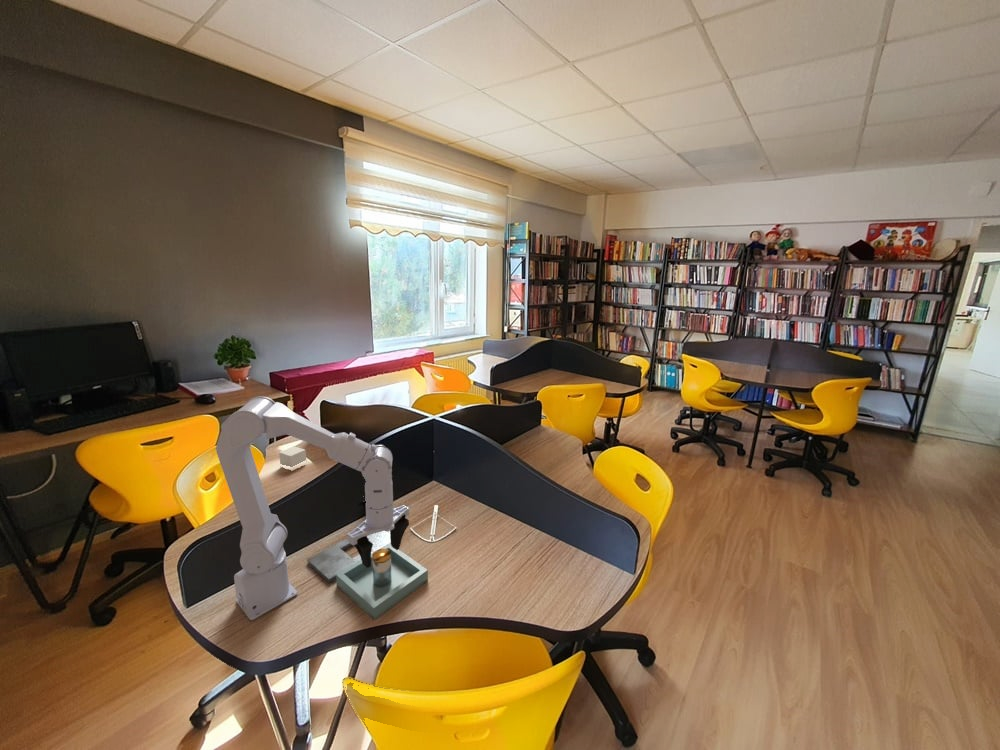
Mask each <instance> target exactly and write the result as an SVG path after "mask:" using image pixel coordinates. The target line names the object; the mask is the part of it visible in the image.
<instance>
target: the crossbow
mask: <svg viewBox="0 0 1000 750" xmlns="http://www.w3.org/2000/svg"><path fill="white" fill-rule="evenodd" d="M438 513H439V505H438V504H435V505H433V514H432V515H430V516H428V517H427V518H425V519H424V520H422V521H420V522H418V523H417V524H415V525H413V526H412V527H410V528H409V531H410V532H412V533H413V534H414V535H415V536H416V537H418V538H419V539H420V540H423V541H424V542H427V543H436V542H439V541H441V540H443V539H445V538H446V537H448V536H450V535H451V534H452V533H454V532H455V531H457V527H456V526H455V525H453V524H451V523H450V522H449V521H447V520H446V519H444V518H443V517H441V516H440V515H439V514H438ZM430 517H432V520H431V521H432V523H431V528H430V535H429V539H427V538H424V537H422V536H421V535H419V534H418V533H417V532H416V531H415V530H414V529H413V528H414V527H416V526H417V525H419V524H421V523H422V522H424V521H426V520H427V519H429V518H430ZM438 517H439V518H441V519H443V520H444V521H445V522H447V523H448V524H450V525H451V526H453V527H454V528H453V529H452V530H451V531H449V532H448V533H446V534H445V535H443V536H442V537H439V538H437V539H435V536H436V528H437V519H438Z"/></svg>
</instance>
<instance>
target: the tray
mask: <svg viewBox="0 0 1000 750" xmlns="http://www.w3.org/2000/svg"><path fill="white" fill-rule="evenodd" d="M380 549H388V550H389V551H390V552H391V579H392V580H391V582H390V584H389V585H387V586H385V587H376V586H375V585H374V583H373V563H372V554H373V553H374V552H373V553H372V554H371V566H370V567H369V568H367V567H366V566H364V565H363V564H362V560H360V561H358V562H356V563H354V564H353V565H351V566H349V567H348V568H346V569H344V570H342V571H341V572H339V573H337V574H336V580H335V581H336V586H337V588H339V589H340V590H341V592H343V593H344V594H345V595H346V596H347V597H349V598H350V600H352V601H353V602H354V603H355V604H356V605H357V606H358V607H359V608H361V610H363V612H365V613H366V614H367V615H369V617H371V618H372V620H373V621H375V620H377V619H378V618H380V617H382V615H384V614H385V613H386V612H388V611H389V610H390V609H392V608H393V607H394V606H396V605H397V604H399V603H400V602H401V601H403V600H404V599H405V598H407V597H408V596H410V595H411V594H412V593H413V592H416V590H418V589H419V588H420V587H422V586H423V585H425V584H426V583H427V582H428V581H429V575H428V574H429V569H427V568H426V567H424V566H423V565H422V564H420V563H418V562H417V561H416V560H415V559H413V558H411V557H410V556H408V554H406V553H404V552H402V551H401V550H400V548H399V549H398V550H396V549H394V548H393V547H392V546H391V544H390V543H389V544H387V545H385V546H384V547H382V548H380ZM378 550H379V549H378Z"/></svg>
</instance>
